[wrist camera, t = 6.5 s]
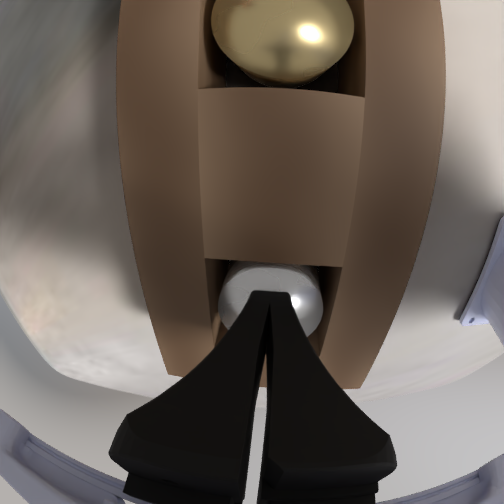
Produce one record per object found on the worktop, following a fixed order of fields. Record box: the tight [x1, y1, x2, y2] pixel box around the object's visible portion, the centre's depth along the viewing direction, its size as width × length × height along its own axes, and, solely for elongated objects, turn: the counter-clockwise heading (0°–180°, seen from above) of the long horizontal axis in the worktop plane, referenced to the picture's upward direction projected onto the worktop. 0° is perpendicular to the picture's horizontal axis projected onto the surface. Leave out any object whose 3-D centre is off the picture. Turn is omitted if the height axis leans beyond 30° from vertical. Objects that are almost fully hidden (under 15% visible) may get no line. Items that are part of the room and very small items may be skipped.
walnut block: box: [116, 0, 446, 389], centre depth 9 cm, size 10×20×4 cm, turn 179°
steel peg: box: [218, 260, 323, 337], centre depth 12 cm, size 4×4×4 cm
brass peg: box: [211, 0, 354, 88], centre depth 7 cm, size 4×4×4 cm
